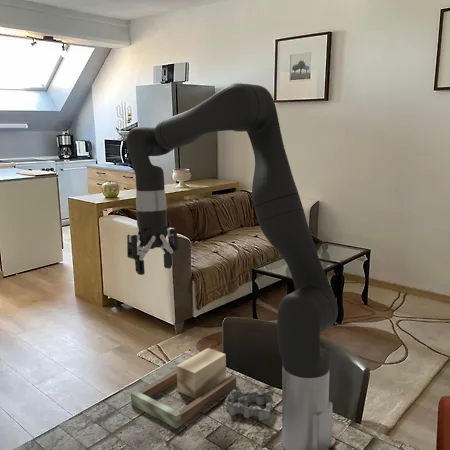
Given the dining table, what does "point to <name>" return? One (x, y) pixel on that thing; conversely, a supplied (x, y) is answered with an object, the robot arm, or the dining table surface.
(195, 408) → the wooden tray frame
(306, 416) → the robot arm
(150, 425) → the dining table surface
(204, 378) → the maple block
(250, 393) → the egg carton
